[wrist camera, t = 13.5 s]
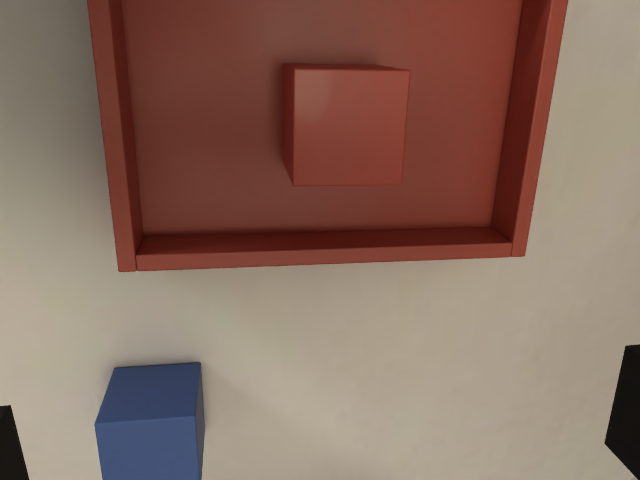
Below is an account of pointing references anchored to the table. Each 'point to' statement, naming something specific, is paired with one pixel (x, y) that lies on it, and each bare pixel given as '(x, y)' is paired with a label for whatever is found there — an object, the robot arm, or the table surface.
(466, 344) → the table surface
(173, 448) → the blue block
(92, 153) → the table surface
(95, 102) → the table surface
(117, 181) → the red tray
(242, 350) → the table surface
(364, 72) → the red block
